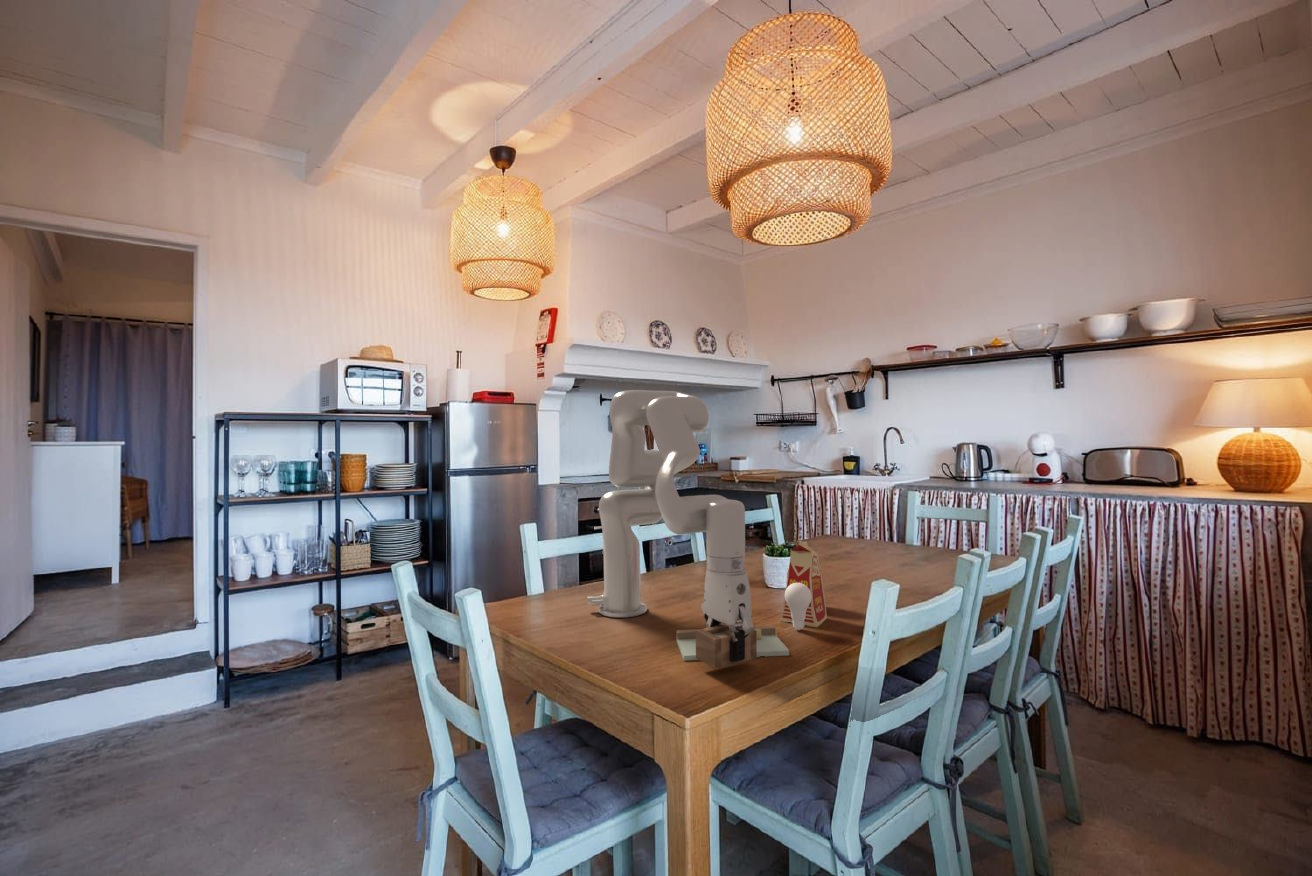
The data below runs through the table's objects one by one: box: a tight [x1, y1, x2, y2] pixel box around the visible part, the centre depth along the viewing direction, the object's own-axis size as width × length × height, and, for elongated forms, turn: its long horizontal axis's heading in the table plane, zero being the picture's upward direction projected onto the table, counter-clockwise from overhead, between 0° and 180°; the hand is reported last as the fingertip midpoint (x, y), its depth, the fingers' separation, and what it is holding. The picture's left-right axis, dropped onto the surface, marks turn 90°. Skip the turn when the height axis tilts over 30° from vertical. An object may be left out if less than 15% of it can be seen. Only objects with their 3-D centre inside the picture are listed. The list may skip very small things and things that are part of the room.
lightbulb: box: [784, 583, 812, 631], centre depth 145 cm, size 6×6×11 cm
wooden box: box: [696, 621, 758, 670], centre depth 122 cm, size 10×6×6 cm, turn 120°
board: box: [675, 625, 790, 662], centre depth 134 cm, size 22×12×3 cm, turn 95°
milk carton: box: [780, 539, 828, 628], centre depth 153 cm, size 9×9×20 cm
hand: (726, 653), depth 122 cm, fingers closed on wooden box, 6 cm apart
